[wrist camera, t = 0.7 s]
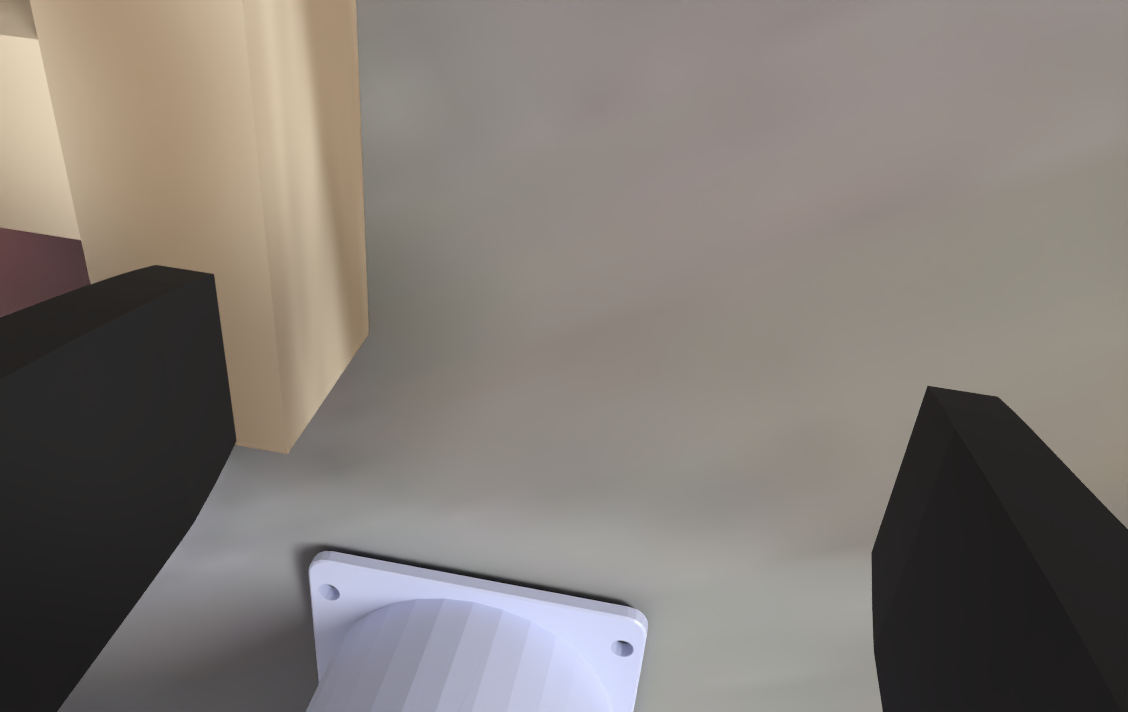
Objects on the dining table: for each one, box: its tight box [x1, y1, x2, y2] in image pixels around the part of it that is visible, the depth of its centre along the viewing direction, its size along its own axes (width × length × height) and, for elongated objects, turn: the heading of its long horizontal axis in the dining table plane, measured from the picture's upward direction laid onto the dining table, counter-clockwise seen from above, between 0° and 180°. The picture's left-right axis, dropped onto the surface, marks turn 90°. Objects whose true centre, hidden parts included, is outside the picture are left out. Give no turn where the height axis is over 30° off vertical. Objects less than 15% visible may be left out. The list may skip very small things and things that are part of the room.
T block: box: [0, 0, 369, 454], centre depth 16 cm, size 9×10×4 cm
